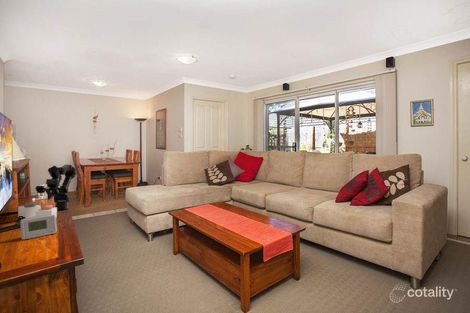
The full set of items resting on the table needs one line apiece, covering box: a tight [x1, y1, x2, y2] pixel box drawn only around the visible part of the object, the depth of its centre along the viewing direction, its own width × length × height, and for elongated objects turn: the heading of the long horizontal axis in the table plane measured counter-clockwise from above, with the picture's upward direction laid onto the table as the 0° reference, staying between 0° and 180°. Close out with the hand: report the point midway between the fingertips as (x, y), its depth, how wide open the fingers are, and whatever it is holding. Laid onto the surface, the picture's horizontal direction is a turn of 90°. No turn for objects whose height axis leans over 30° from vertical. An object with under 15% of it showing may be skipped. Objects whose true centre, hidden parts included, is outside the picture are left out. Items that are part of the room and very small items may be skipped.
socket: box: [17, 204, 42, 219], centre depth 174 cm, size 9×9×7 cm
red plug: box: [40, 204, 53, 210], centre depth 168 cm, size 6×6×8 cm
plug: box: [23, 202, 37, 207], centre depth 174 cm, size 6×6×8 cm
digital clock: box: [19, 215, 58, 241], centre depth 138 cm, size 16×9×11 cm, turn 132°
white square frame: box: [35, 206, 58, 218], centre depth 168 cm, size 9×9×7 cm
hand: (48, 199), depth 171 cm, fingers closed
